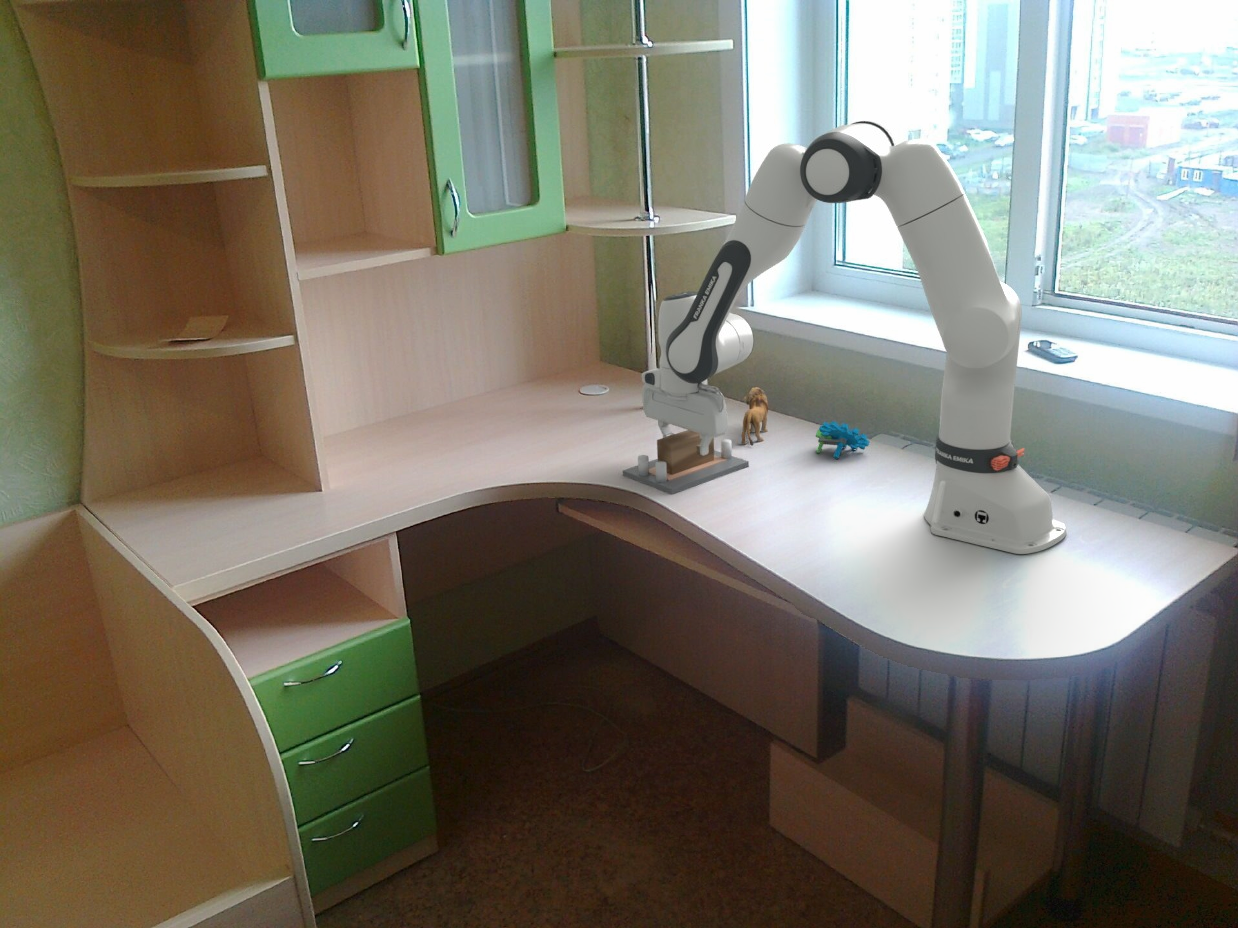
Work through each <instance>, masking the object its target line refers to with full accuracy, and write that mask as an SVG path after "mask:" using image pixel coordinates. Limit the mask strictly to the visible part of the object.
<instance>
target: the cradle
mask: <svg viewBox="0 0 1238 928" xmlns="http://www.w3.org/2000/svg"><path fill="white" fill-rule="evenodd" d="M732 453H733V452H732V440H731V439H729V438H728V439H727V438H726V439H721V441H720V451H718V450H715V449H714V460H713V461H710V462H708V463H705V464H702V465H699V466H696V467H693V468H690V469H688V470H685V471H682V472H679V473H676V474H673V475H671V474H668V473H667V470H666V462H664V461H659V462H658V458H655V459H652V460H650V459H649V457H650V456H649V455H647V454H641V455H638V456H637V465H635V466H632V467H629V468H626V469H623V470H622V476H623V477H626V478H628V479H631V480H634V481H636V482H639V483H642V484H644V485H646V486H649V487H652V488H655V489H658V490H659V491H663V492H666V493H668V494H670V495H674V494H676V493H680V492H683V491H685V490H688V489H690V488H693V487H696V486H698V485H702V484H704V483H706V482H710V481H712V480H715V479H717V478H721V477H723V476H725V475H729V474H731V473H734V472H736V471H739V470H743V469H745V468H747V467H749V465H750V464H749V462H750V461H749V460H746V459H743V458H741V457H740V458H739V457H736V456H732V455H733V454H732Z"/></svg>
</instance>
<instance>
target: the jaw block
mask: <svg viewBox="0 0 1238 928" xmlns="http://www.w3.org/2000/svg"><path fill="white" fill-rule="evenodd" d="M673 434H674V435H671V436H668V437H665V438H663V437H662V438H659V439H656V446H657V447H656V450H657V453H656V454H657V459H658V462H659V461H664V462H666V470H667V473H668V474H671V475H673V474H676V473H679V472H682V471H685V470H688V469H690V468H693V467H696V466H699V465H702V464H705V463H708V462H710V461H713V460H714V450H715V437H714V438H712V440H711V442H710V444H709V452H708V454H707V455H704V456H703V455H700V454H697V449H696V445H700V443H701V441H702V439H701V438H700V433H697V432H694V431H690V430H687V429H685V430H683V431H681V432H680V431H679V432H677V433H673Z"/></svg>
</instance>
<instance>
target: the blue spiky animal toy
mask: <svg viewBox="0 0 1238 928" xmlns="http://www.w3.org/2000/svg"><path fill="white" fill-rule="evenodd" d="M859 434H860V429H858V428H856V427H853V428H852V430H851V429H850V428H849V424H848V423H847V424H846V423H841V425H839V423H837V421H835V420H834V421H832V420H831V421H830V423H829V422H826V421H824V422H823V423H822V425H819V428H818V429H817V431H816V433H815V437H816V438H817V439H818V440H817V442H818V443H819V444H818V446H817V449H816V453H817V454H819V453H820V454H821V451H822V448H823V446H824V445H829V446H836V449H835V451H834V454H833V457H832V458H834V459H835V458H837V459H836V460H838V459H839V457H840V455H841V452H842V450H843V448H844V449H845V448H847V447H850V449H851V450H853V449H856V450H858V449H860V450H863V451H864V450H865V449H866V447H869V445H870V441H869V440H868V436H867V435H866V434H864V433H861V434H860V435H859ZM856 450H855V451H856Z"/></svg>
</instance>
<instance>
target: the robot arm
mask: <svg viewBox="0 0 1238 928" xmlns="http://www.w3.org/2000/svg"><path fill="white" fill-rule="evenodd" d="M756 171H757V172H756V173H755V174H754V177H753V179H752V181H751V183H750V186H749V187H748V189H747V192H746V194H745V197H744V199H743V202H742V205H741V206H740V208H739V209H740V210H739V212H738V214H737V216H736V218H735V221H734V223H733V224H732V228H731V229H730V231H729V233H728V234H727V237H726V239H725V240H724V242H723V244H722V246H721V248H720V249H719V251H718V252H717V255H716V257H715V258H714V260H712V263H711V266H709V269H708V271H707V273H706V275H705V277H704V278H703V281H702V283H701V285H700V287H699V290H698V291H693V290H692V291H683V292H680V293H675V294H672V295H669V296H666V297H665V298H664V299H663V300H662V301H661V303H660V306H659V310H658V311H659V312H658V322H657V323H658V324H657V327H658V332H657V333H658V334H657V335H658V336H657V337H658V344H659V347H660V357H659V367H656V368H653V369H649V370H646V371H644V372H642V373H641V382H642V383H643V386H642V391H641V397H642V411H643V413H644V414H645V416H646V417H647V418H649V419H652V420H656V421H657V426H658V427H659V430H660V432H661V435H662V438H665V437H668V436H671V435H674V434H675V433H673V432H672V429H671V426H670V425H672V426H675V427H678V428H681V429H684V430H690V431H694V432H697V433H700V438H701V439H702V441H701V443H700V445H696V449H697V454H700V455H703V456H704V455H707V454H708V452H709V444H710V442H711V440H712V438H714V439H715V438H718V437H720V436H723V435H725V434H726V433H727V432H728V430H729V420H728V419H729V418H728V412H727V405H726V401H725V396H724V394H723V393H722V392H721V391H720V389H719V387H717V386H714V385H712V386H711V385H709V384H708V379H710V378H711V377H713V376H714V375H717V374H719V373H721V372H723V371H725V370H728V369H730V368H732V367H734V366H736V365H738V364H740V363H742V362H744V361H745V360H747V359H748V358H749V357H750V356H751V354H752V352H753V350H754V345H755V336H754V331H753V330H752V329H753V328H752V327H751V324H750V323H749V321H748V320H747V319H745V318H744V317H743V315H740V314H738V313H732V312H731V311H732V309H733V308H734V305H735V302H736V301H737V299H738V297H739V295H740V294H741V293H742V291H743V290H744V289H745V288H746V287H747V286H748V285H749V284H750V283H751V282H753V280H755V279H756V278H758V277H759V276H761V275H762V274H763V273H765V272H766V271H768V270H769V269H771V268H773V267H774V266H776V265H777V264H780V263H781V262H783V261H784V260H785V259H786V258H787V257H788V256H789V255H790V254H791V252H792V250H794V248H795V247H796V245H797V243H798V242H799V240H800V239H801V237H802V235H803V232H804V230H805V228H806V225H807V223H808V220H809V218H810V215H811V213H812V212H813V208H814V207H815V205H816V202H817V201H819V202H822V203H825V204H826V203H827V204H842V203H843V204H845V203H849V202H855V201H861V200H868V199H871V198H872V197H873V196H876V197H878V198H879V199H881V200H882V202H884V204H885V205H886V208H888V211H889V212H890V214H891V217H892V219H893V221H894V224H895V225H896V227H897V229H898V232H899V234H900V236H901V239H902V241H903V243H904V245H905V248H906V249H907V251H908V254H909V256H910V258H911V259H912V262H913V264H914V266H915V269H916V271H917V274H918V277H919V279H920V282H921V285H922V288H923V293H924V294H925V297H926V298H925V299H926V300H927V303H928V305H929V310H930V312H931V314H932V317H933V320H934V322H935V325H936V328H937V330H938V334H939V335H940V339H941V341H942V344H943V347H944V349H945V351H946V353H945V363H944V370H943V380H942V387H941V396H940V397H941V398H940V415H939V431H938V433H939V434H937V436H936V439H935V448H934V449H935V450H934V451H935V452H934V459H935V465H936V466H935V471H934V478H933V479H934V480H933V484H932V488H931V493H930V495H929V496H930V497H929V500H928V503H927V505H926V508H925V510H924V513H923V516H924V519H925V521H926V522H927V524H929V525H930V532H931V533H932V534H933V535H935V536H940V537H944V538H949V539H953V540H957V541H961V542H965V543H969V544H973V545H978V546H982V547H986V548H991V549H995V550H999V551H1002V552H1003V551H1004V552H1007V553H1012V554H1016V555H1025V554H1027V555H1029V554H1034V553H1038V552H1041V551H1045V550H1047V549H1049V548H1051V547H1052V546H1055V545H1056V544H1058V543H1060V542H1061V541H1062V540H1063V539H1064V538H1065V537H1066V535H1067V526H1066V524H1065V523H1063V522H1061V521H1059V520H1056V519H1055V518H1054V517H1053V515H1054V514H1053V506H1052V499H1051V496H1050V495H1049V493H1048V492H1047V491H1046V490H1045V489H1043V488H1042V487H1041V486H1040V484H1039V483H1038V482H1036V481H1035V480H1034V479H1033V478H1032V477H1031V476H1030V475H1029V474H1028V472H1026V471H1025V469H1023V468H1022V467H1021V465H1020V462H1019V459H1018V458H1019V457H1021V456H1023V455H1025V452H1024V451H1025V450H1026V448H1025V447H1022V448H1020V449H1018V450H1016V448H1015V445H1014V442H1013V440H1012V439H1011V432H1012V421H1013V420H1012V419H1013V409H1014V395H1015V388H1016V387H1015V385H1016V375H1017V368H1018V367H1017V365H1018V357H1019V348H1020V347H1019V346H1020V335H1021V328H1022V327H1021V326H1022V316H1023V311H1022V304H1021V301H1020V298H1019V296H1018V295H1017V293H1016V292H1015V291H1014V290H1013V289H1012V287H1010V286H1009V285H1007V283H1004V282H1002V281H1001V280H1000V277H999V274H998V271H997V269H996V267H995V263H994V260H993V259H992V258H993V257H992V254H991V252H990V249H989V246H988V245H989V244H988V241H987V239H986V236H985V235H984V232H983V229H982V228H981V226H980V223H979V220H978V219H977V216H976V215H975V212H974V210H973V207H972V206H971V204H970V202H969V199H968V197H967V195H966V193H965V190H964V189H963V186H962V184H961V182H960V181H959V179H958V177H957V175H956V173H955V172H954V170H953V168H952V167H951V165H950V163H949V162H948V160H947V159H946V157H945V156H944V154H943V153H942V152H941V150H940V149H939V147H938V146H937V145H936V144H935V143H934V142H933V141H931V140H929V139H926V138H914V139H908V140H905V141H902V142H900V143H898V144H896V141H895V138H894V137H893V135H892V133H891V132H890V131H889V130H888V129H887V128H886V127H885V126H883V125H882V124H880V123H877V122H873V121H870V120H868V121H867V120H862V121H855V122H853V123H850V124H843V125H840V126H837V127H835V128H832V129H831V130H829V131H828V132H826V133H824V134H822V135H819V136H818V137H816V139H814V140H813V141H812V142H811V143H810V144H809V145H808V147H805V146H803V145H801V144H796V143H789V142H788V143H782V144H778V145H777V146H774V147H773V148H772V149H771V150H769V152H768V153H767V155H766V156H765V158H764V159H763V161H762V163H761V164H760V166H759V168H758V170H756Z"/></svg>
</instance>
